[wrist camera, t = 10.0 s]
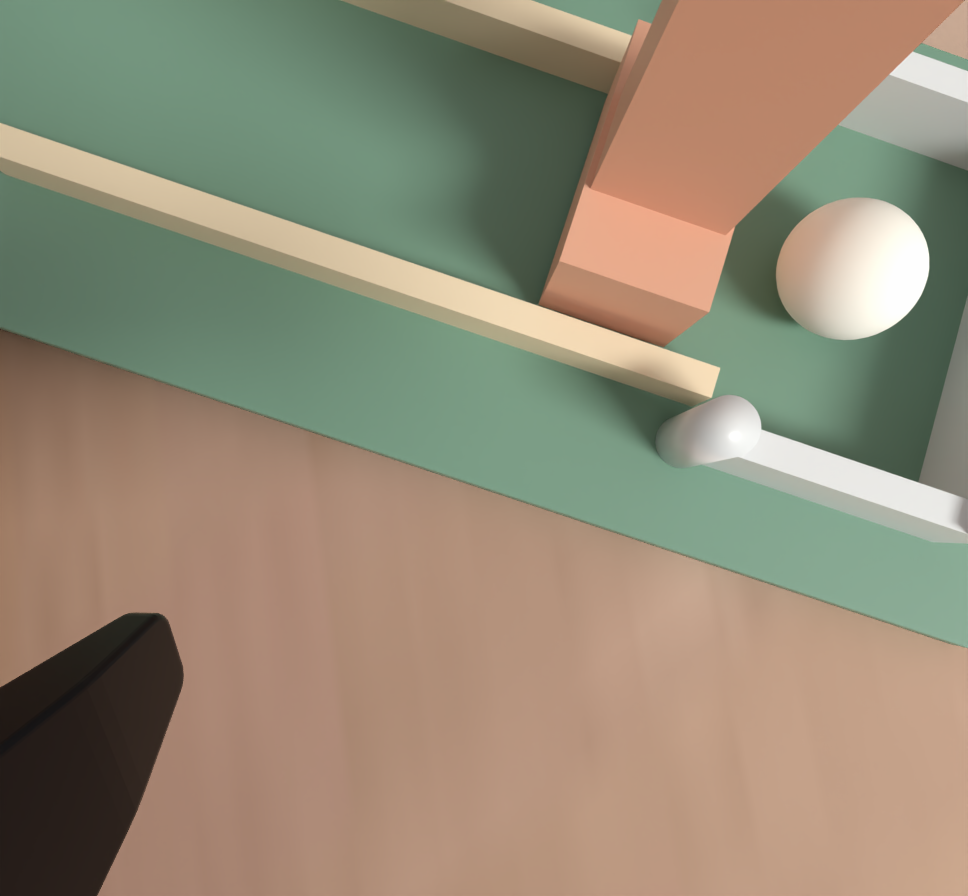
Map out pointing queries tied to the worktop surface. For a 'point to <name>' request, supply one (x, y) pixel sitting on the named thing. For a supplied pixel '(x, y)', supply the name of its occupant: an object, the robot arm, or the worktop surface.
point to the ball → (852, 268)
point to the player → (711, 144)
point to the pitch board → (453, 266)
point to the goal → (964, 401)
